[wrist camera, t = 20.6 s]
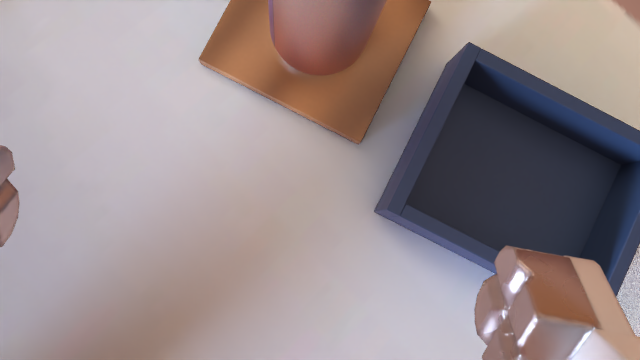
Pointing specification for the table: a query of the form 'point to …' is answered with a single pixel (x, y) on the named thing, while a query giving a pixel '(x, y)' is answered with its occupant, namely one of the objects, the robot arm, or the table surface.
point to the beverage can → (322, 32)
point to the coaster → (305, 89)
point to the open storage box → (517, 170)
